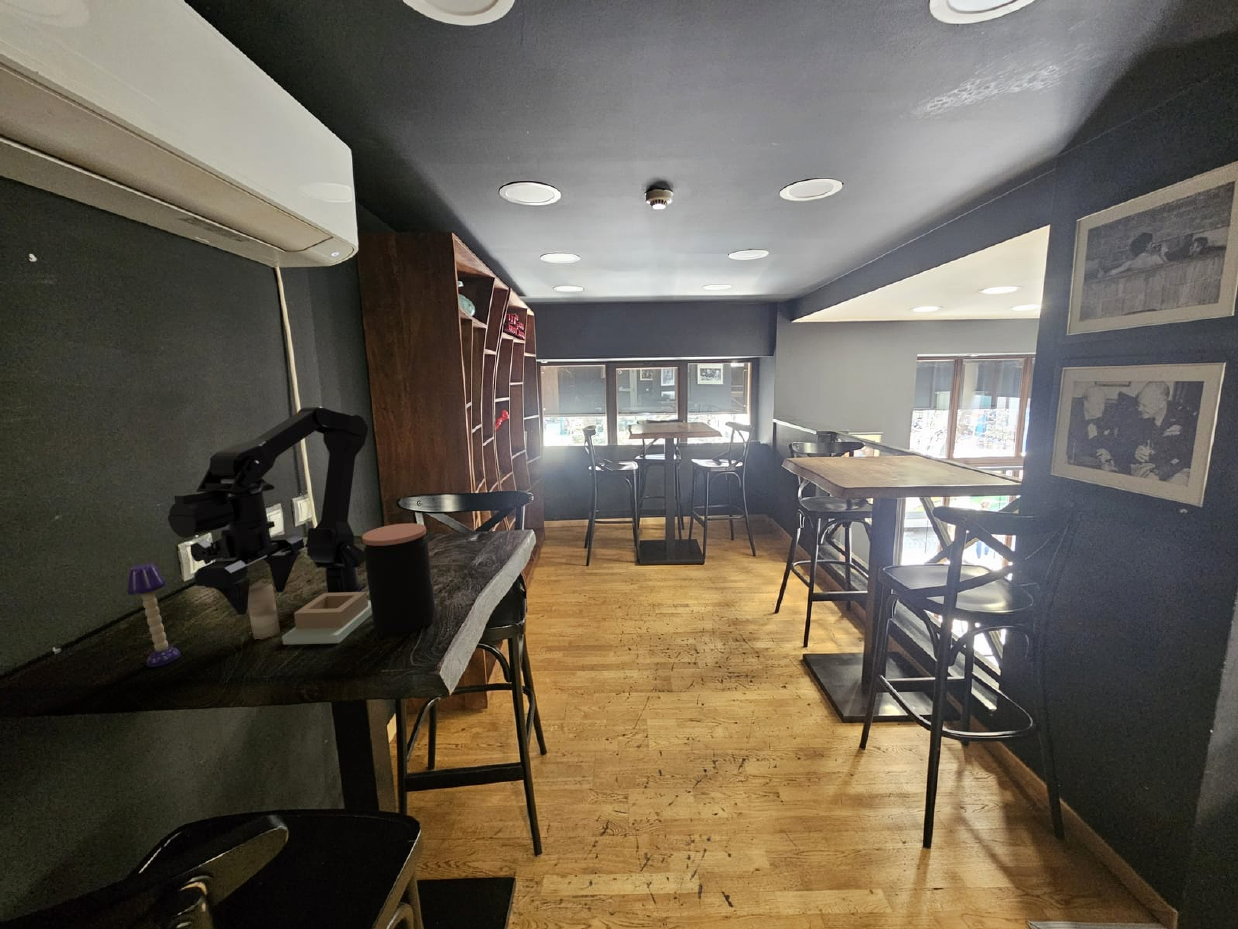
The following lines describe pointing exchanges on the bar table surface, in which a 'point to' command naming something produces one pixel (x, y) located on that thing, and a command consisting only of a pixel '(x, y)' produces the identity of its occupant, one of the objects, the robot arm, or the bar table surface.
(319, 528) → the robot arm
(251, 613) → the birch peg
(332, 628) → the socket board
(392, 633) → the coffee jar
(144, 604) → the toy lamp
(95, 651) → the bar table surface
